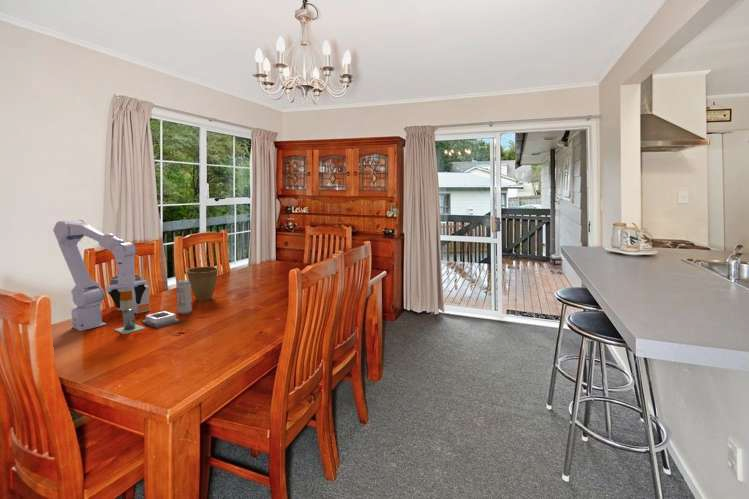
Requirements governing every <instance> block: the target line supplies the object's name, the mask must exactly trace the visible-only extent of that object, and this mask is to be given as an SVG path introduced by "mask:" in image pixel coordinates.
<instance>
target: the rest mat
mask: <svg viewBox="0 0 749 499" xmlns="http://www.w3.org/2000/svg"><path fill="white" fill-rule="evenodd" d="M135 327H136V328H135V329H132V330H124V326H122V327H118V328H114V331H116V332H118V333H119V334H122V335H127V334H130V333H134V332H137V331H143V330H145V329H146V327H144V326H142V325H139V324H136V323H135Z"/></svg>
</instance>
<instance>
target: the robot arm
mask: <svg viewBox="0 0 749 499" xmlns="http://www.w3.org/2000/svg"><path fill="white" fill-rule="evenodd" d="M52 232H53V233H54V236H55V238H56V240H57V243H58V247H59V248H60V251H61V253H62V256H63V257H64V261H65V262H66V265H67V267H68V270H69V272H70V275H71V277H72V279H73V281H74V282H73V283H74V284H75V285H74V286H73V288H72V289H71V292H70V293H71V294H72V301H73V303H74V305H75V306H76V307H73V308H72V309H71V322H72V323H71V324H72V325H71V328H74V329H76V330H77V331H79V332H80V331H81V332H83V331H85V330H90V329H91V330H92V329H93V328H97V327H102V326H106V325H107V323H105V322H103V319H102V305H101V304H102V303H103V301H104V299H105V297H106V295H105V293H106V292H107V293H108V294H109V296H110V298H111V299H112V301H113V303H114V306H115V309H117V308H120V292H119V291H118V290H120V289H126V288H132V287H134V290H135V295H136V303H137V304H140V303H141V298H142V295H143V293H144V291H145V289H146V286H148V281H147V280H144V279H141V281H135V275H136V274H135V273H136V271H135V257H134V256H135V255H136V254H137V253H138V249H137V245H136V244H134V242H132V241H124V239H121V238H118V237H117V236H115V234H114V233H102V232H101V231H100V230H98V229H96V228H94V227H93V226H91V225H90V223H89V222H87V221H86V220H83V219H78V220H64V221H63V220H61V221H60V220H59V221H57V222H56V223H55V225H54V227H53V228H52ZM84 237H87V238H89V239H92V240H94V241H95V242H96V241H97V242H98V244H99V246H100V247H102V248H103V249H105V250H108V251H109V252H111V253H112V255H113V257H114V259H115V262H116V267H117V268H116V269H117V276H118V284H114V285H106V286H105V291H104V289H103V288H102V287H101V286H100V284H99V282H97V281H95V280H92V278H91V276H90V275H91V274H90V273H89V271H88V269H87V267H86V263H85V262H84V259H83V256H82V254H81V252H80V250H79V247H78V243H79V242H80V241H82V239H83V238H84ZM145 285H146V286H145Z"/></svg>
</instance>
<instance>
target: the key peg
mask: <svg viewBox="0 0 749 499" xmlns="http://www.w3.org/2000/svg"><path fill="white" fill-rule="evenodd" d="M121 312H122V320H123V321H122V322H123V324H122V325H123V327H124V330H132V329H135V328H136V327H135V324H136V316H135V314H136V313H134V308H126V309H123V310H122V311H121Z"/></svg>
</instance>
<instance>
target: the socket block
mask: <svg viewBox="0 0 749 499" xmlns="http://www.w3.org/2000/svg"><path fill="white" fill-rule="evenodd" d="M180 322H181V320H180V319H178V318H176V313H172V312H169V311H166V310H163V311H159V312H155V313H151V314H146V315H145V319H143V320H141V323H142V324H144V325H147V326H150V327H153V328H155V329H160V328H162V327H166V326H169V325H174V324H176V323H177V324H178V323H180Z"/></svg>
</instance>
